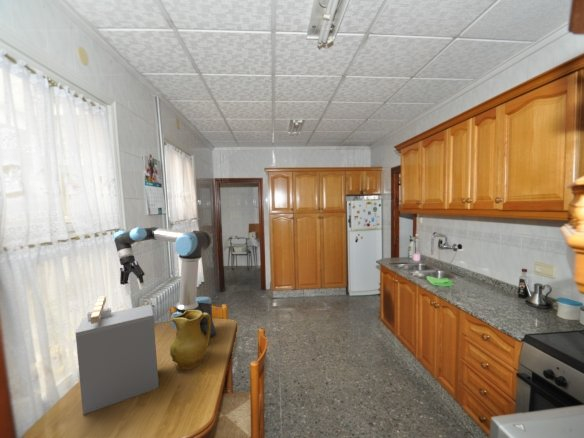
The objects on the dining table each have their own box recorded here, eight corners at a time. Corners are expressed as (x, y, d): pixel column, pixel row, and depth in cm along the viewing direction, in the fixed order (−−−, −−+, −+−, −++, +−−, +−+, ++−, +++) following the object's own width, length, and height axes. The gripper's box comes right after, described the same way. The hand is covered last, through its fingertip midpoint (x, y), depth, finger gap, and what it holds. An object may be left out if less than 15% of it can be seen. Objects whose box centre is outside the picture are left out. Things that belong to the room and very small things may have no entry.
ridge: (88, 319, 112) (88, 312, 112) (111, 314, 116) (110, 307, 116) (87, 321, 110) (87, 314, 110) (111, 316, 114) (110, 309, 114)
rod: (99, 301, 125) (99, 296, 125) (105, 300, 126) (105, 295, 126) (91, 324, 99) (90, 317, 99) (98, 322, 100) (98, 316, 100)
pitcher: (179, 353, 140) (177, 307, 139) (214, 352, 141) (213, 307, 139) (163, 374, 123) (161, 322, 121) (203, 374, 124) (202, 322, 122)
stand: (89, 390, 114) (82, 318, 113) (156, 369, 128) (151, 304, 126) (83, 414, 101) (75, 332, 99) (158, 387, 114) (153, 315, 113)
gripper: (108, 264, 157) (116, 298, 155) (132, 251, 147) (142, 288, 144) (121, 261, 164) (129, 295, 161) (145, 249, 154) (154, 284, 151)
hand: (135, 291), depth 153 cm, fingers open, 13 cm apart
